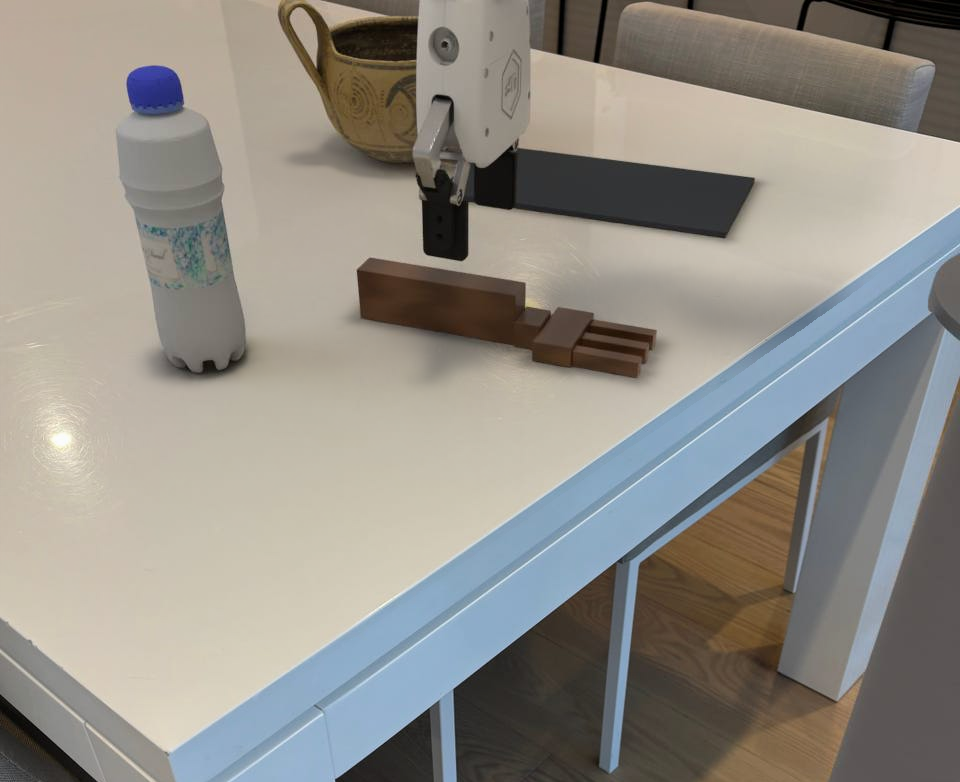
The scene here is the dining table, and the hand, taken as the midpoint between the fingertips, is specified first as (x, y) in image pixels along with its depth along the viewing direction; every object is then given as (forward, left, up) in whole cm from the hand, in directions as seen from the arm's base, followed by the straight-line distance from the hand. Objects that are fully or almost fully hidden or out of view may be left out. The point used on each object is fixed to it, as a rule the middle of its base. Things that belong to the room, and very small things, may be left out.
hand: (471, 230), depth 78 cm
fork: (-2, 0, -8) cm, 8 cm away
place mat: (-1, -31, -8) cm, 32 cm away
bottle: (+17, +11, -8) cm, 22 cm away
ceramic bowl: (+21, -34, -8) cm, 41 cm away
